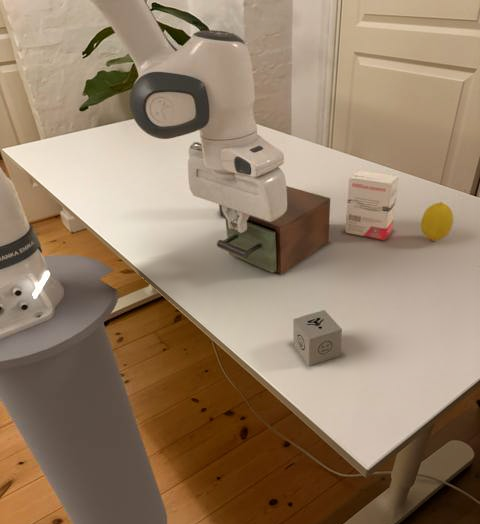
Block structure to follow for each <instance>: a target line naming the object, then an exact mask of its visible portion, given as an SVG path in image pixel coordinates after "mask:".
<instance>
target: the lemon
mask: <svg viewBox="0 0 480 524" xmlns="http://www.w3.org/2000/svg"><path fill="white" fill-rule="evenodd" d="M420 221H421V222H420V228H421V232H422V234H423V236H424V237H425V238H427V239H429V240H430V241H431V242H435V241H439V240H442V239H444V238H446V237H447V235H448V234H449V233H450V232H451V229H452V227H453V223H454V214H453V211H452V209H451V207H449V206H448V204H445V203H443V202H442V201H438V202H436V203H434V204H431V205H429V206H428V207H427V208H426V210H425V211H424V213H423V214H422V217H421V220H420Z"/></svg>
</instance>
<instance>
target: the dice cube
mask: <svg viewBox="0 0 480 524" xmlns="http://www.w3.org/2000/svg"><path fill="white" fill-rule="evenodd" d="M342 334H343V329H342V327H341V326H340V325H339V324H338V323H337V322H336V320H335V319H334V318H333V317H332V316H331V315H330V314H329V313H328V312H327V311H326V310H325V309H322V310H319V311H316V312H315V311H314V312H312V313H309V314H305V315H303V316H299V317H296V318H293V346H294V348H295V349H296V351H297V352H298V353H299V354H300V356H301V358H302V359H303V360H304V362H305V363H306V364H307V366H308V367H310V366H314V365H318V364H320V363H322V362H326V361H329V360H331V359H334V358H335V359H336V358H338V357H340V356H341V350H342V349H341V347H342Z"/></svg>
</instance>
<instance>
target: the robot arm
mask: <svg viewBox="0 0 480 524" xmlns="http://www.w3.org/2000/svg"><path fill="white" fill-rule="evenodd" d="M89 1H90V3H92V4H93V5H94V6H95V7H96V9H98V10H99V12H100V13H101V14H102V16H103V17H104V18H105V19H106V21H107V22H108V25H110V27H111V29H112V31H113V32H114V34H115V35H116V37H117V38H118V40H119V41H120V43H121V45H122V46H123V47H124V49H125V50H126V52H127V54H128V55H129V57H130V58H131V60H132V61H133V63H134V65H135V69H136V71H137V75H138V77H137V78H136V80H135V82H134V83H133V86H132V87H131V90H130V94H129V109H130V112H131V115H132V118H133V120H134V121H135V124H136V125H137V126H138V127H139V128H140V129H141V130H142V131H143V132H144V133H146V134H147V135H148V136H150V137H153V138H156V139H160V140H170V139H175V138H179V137H181V136H186V135H189V134H193V133H195V132H197V131H198V132H199V137H200V142H199V141H196V142H193V143H192V144H190V146H189V148H188V152H187V153H188V160H187V177H188V187H189V191H190V192H191V194H192V195H193V196H194V197H196V198H199V199H202V200H205V201H208V202H211V203H213V204H216V205H218V206H219V205H221V207H222V211H223V213H224V215H225V217H226V218H227V220H228V226H229V228H230V229H232V230H235V231H238V232H240V233H243V232H244V231H246V230H247V220H248V218H249V216H250V215H251V216H254V217H257V218H260V219H263V220H266V221H269V222H272V221H274V220H276V219H278V218H279V217H281V216H282V215H283V214H284V213H285V212H286V210H287V188H286V186H287V180H286V176H285V174H284V171H283V170H282V169H281V166H282V165H284V163H285V155H284V152H283V151H282V150H281V149H279V148H277V147H276V146H275V145H273V144H271V143H270V142H269V141H267V140H266V139H265V138H263V137H262V136H261V135H259V134H258V127H257V122H256V119H255V115H254V105H255V102H256V93H255V79H254V72H253V71H254V70H253V65H252V64H253V63H252V57H251V53H250V50H249V47H248V44H246V42H245V41H244V40H243V39H242V38H241V37H240V36H239V35H237V34H235V33H233V32H229V31H222V30H213V29H210V30H206V29H205V30H199V31H196V32H194V33H193V34H192V35H191V36H190V38H189V39H188V40H187V41H186V42H185V43H184V44H183V45H182V46H181V47H179V48H176V47H175V45H174V44H172V42H171V41H170V40H169V39H168V38H167V36H166V34H165V33H164V30H163V29H162V27H161V26H160V24H159V22H158V21H157V18H156V17H155V15H154V13H153V12H152V10H151V8H150V7H149V5H148V3H147V1H146V0H89ZM235 210H236V212H237V214H236V212H235ZM237 215H238V216H239V218H238V217H237ZM41 246H42V245H41V241H40V239H39V236H38V234H37V232H36V230H35V228H34V226H33V224H32V223H29V220H28V218H27V215H26V213H25V210H24V207H23V205H22V202H21V200H20V198H19V195H18V192H17V190H16V187H15V185H14V183H13V181H12V180H11V179H10V178H9V177H8V176H7V175H6V173H5V172H4V171H3V168H2V167H1V166H0V339H2V338H5V337H7V336H10V335H12V334H15V333H17V332H20V331H22V330H25V329H27V328H30V327H32V326H35V325H37V324H40V323H42V322H45V321H47V320H50V319H51V318H52V317H53V316H54V312H55V308H56V306H57V305H58V304H59V303H60V301H61V300H62V298H63V296H64V287H63V286H62V285H61V284H60V282H59V281H58V280H57V279H56V277H55V276H54V274H53V273H52V271H51V269H50V268H49V266H48V264H47V263H46V261H45V259H44V257H43V256H44V255H43V249H42V247H41Z"/></svg>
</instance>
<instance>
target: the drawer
mask: <svg viewBox="0 0 480 524" xmlns="http://www.w3.org/2000/svg"><path fill="white" fill-rule="evenodd" d="M238 218H239V216H238ZM224 219H225V227H226V236H227V238H226V239H224V240H222V239H219V240H217V242H216V247H217V248H220V249H221V250H224V251H226V252H228V255H231V256H232V257H235V258H237V259H240V260H241V261H244V262H246V263H248V264H251V265H253V266H256V267H258V268H260V269H262V270H264V271H267V272H269V273H271V274H272V273H276V272H275V271H276V270H277V264H278V254H277V230H276V229H273V228H270V227H267V226H264V225H262V224H259V223H256V222H253V221H251V220H247V230H246V231H244V232H243V233H240V232H238V231H235V230H232V229H230V228H229V226H228V220H227V218H224Z"/></svg>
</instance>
